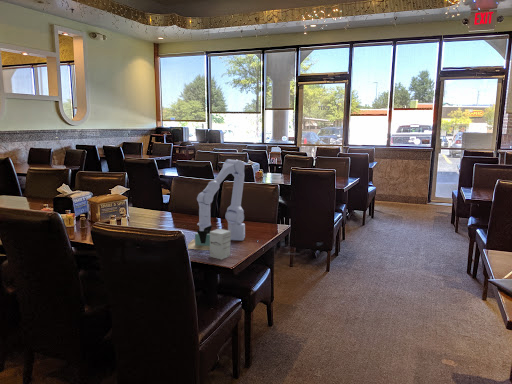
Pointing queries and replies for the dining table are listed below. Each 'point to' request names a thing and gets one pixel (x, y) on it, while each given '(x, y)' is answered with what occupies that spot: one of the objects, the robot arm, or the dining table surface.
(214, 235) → the supplement box
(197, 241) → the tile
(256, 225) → the dining table surface
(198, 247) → the mat
